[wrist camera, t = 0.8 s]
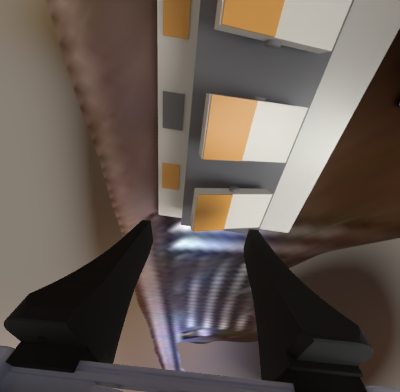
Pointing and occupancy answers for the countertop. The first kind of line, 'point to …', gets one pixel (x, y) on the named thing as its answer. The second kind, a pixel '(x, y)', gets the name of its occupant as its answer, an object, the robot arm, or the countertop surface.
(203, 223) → the block
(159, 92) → the switch unit
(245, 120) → the rocker
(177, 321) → the countertop surface
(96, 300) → the robot arm
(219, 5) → the rocker
